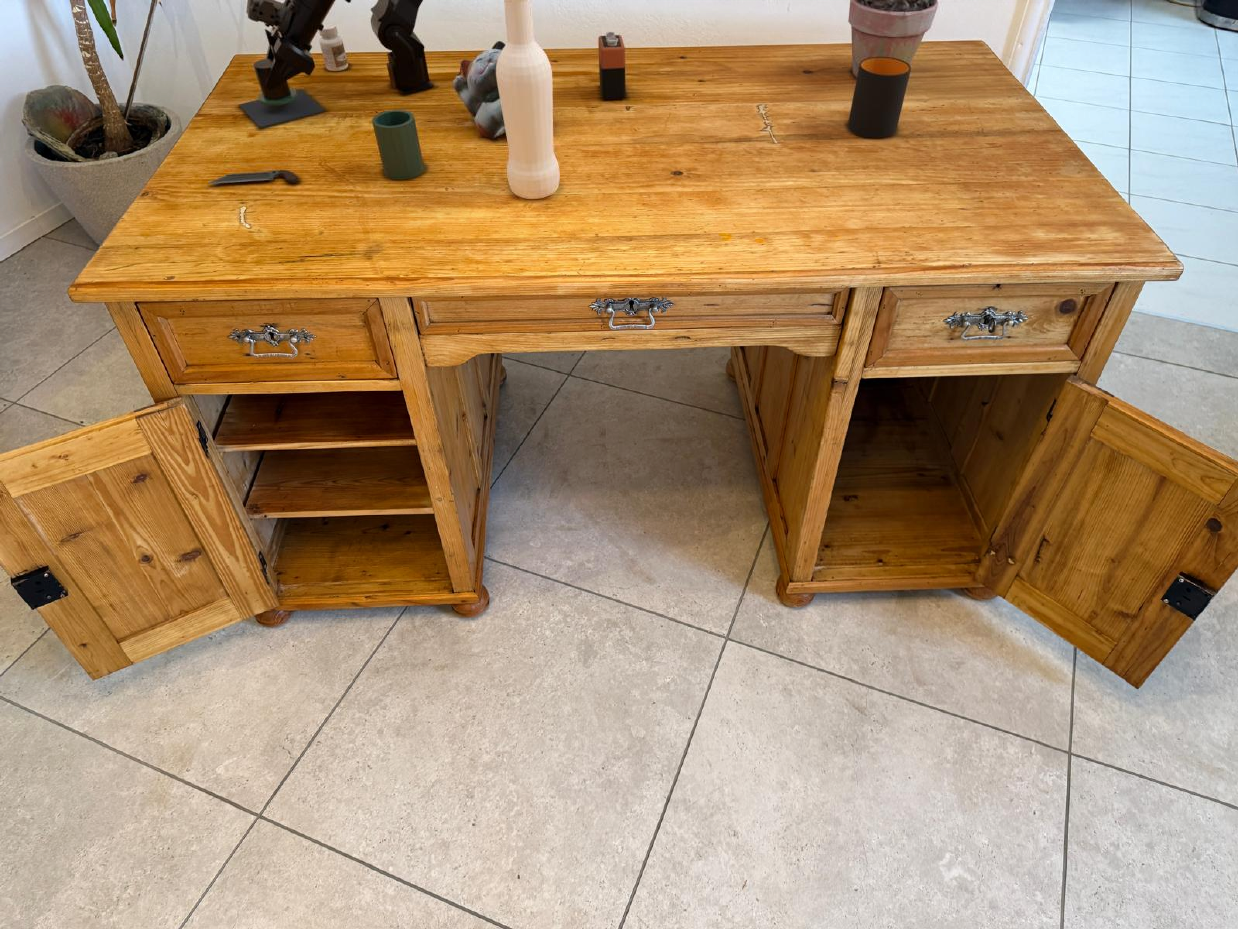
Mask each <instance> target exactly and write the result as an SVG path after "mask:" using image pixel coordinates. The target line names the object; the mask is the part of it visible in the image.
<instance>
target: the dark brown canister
mask: <svg viewBox="0 0 1238 929" xmlns="http://www.w3.org/2000/svg"><path fill="white" fill-rule="evenodd" d="M273 60H274V58H267V59H266V58H262V59H258V60H257V61H255V62H253V69H254V72H255V75H256V78H257V82H258V84H259V87H260V90H261V92H260V93H259V94H258V96H257V100H259V102H260V103H261V104H264V105H269V106H280V105H284V104H287V103H289V102H292V101H293V100H295V99H296V98H297V92H296V90H297V89H294V88H292V87H290V86H289V82H288V80H287V81H285V82H283V83H282V84H280V85H278V86H277V87H275V88H273V89H272V90H269V89H267V88H266V87H265V83H266V80H267V77H268V74H269V71H270V69H271V66H272V63H273Z"/></svg>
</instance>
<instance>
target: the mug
mask: <svg viewBox="0 0 1238 929" xmlns="http://www.w3.org/2000/svg"><path fill="white" fill-rule="evenodd" d="M911 71H912V67H911V64H910V65H909V64H908V63H907V62H905V61H903V60H900V59H897V58H892V57H870V58H867V59H864V60H862V61H861V62H860V64H859V69H858V74H857V77H856V78H855V85H854V90H853V94H852V100H851V106H850V110H849V115H848V116H849V117H848V121H847V129H848V130H849V131H850V132H851V133H852V134H854V135H856V136H858V137H862V138H865V139H874V140H875V139H876V140H879V139H885V138H889V137H892V136H894V135H895V133H897V130H898V126H899V121H900V117H901V113H902V108H903V104H904V101H905V96H906V91H907V87H908V83H909V79H910V75H911Z"/></svg>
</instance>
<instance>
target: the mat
mask: <svg viewBox="0 0 1238 929" xmlns="http://www.w3.org/2000/svg"><path fill="white" fill-rule="evenodd" d="M295 90H296V92H297V98H296V99H295V100H293V101H292V102H289V103H287V104H284V105H280V106H269V105H264V104H261V103H260V102H259V99H256V100H255V99H254V100H251V101H248V102H244V103H240V104H238V107H239V108H240V109H241V110H242V111H243V112H244V113H245V115H247V116H248V118H249V119H250V120H251V121H252V122H253V123H254V124H255V125H256V126H257V127H258V128H259V129H260V130H262V129H265V128H269V127H273V126H277V125H280V124H284V123H288V122H292V121H295V120H300V119H303V118H307V117H311V116H314V115H318V114H323V113H325V109H324V108H323V107H322V106H321V105H320V104H318V103H317V101H315V100H314V99H313V98H312V97H311V96H310V95H309V94H308V93H307V92H305V91H304V90H303V88H299V89H295Z"/></svg>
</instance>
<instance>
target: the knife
mask: <svg viewBox="0 0 1238 929" xmlns="http://www.w3.org/2000/svg"><path fill="white" fill-rule="evenodd" d="M275 177H282V178H285V180H286V182H288V183H289V184H296V183H298V181H299V177H298V176H297V174H295V173H294V172H292V171H290V170H287V169H279V170H267V171H255V172H243V173H240V172H239V173H229V174H228V173H227V174H226V175H223V176H220V177H218V178H216V179H214V180H211V181H210V182H208V185H212V184H227V183H240V182H241V183H242V182H257V181H258V182H259V181H273V180H274V178H275Z"/></svg>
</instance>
